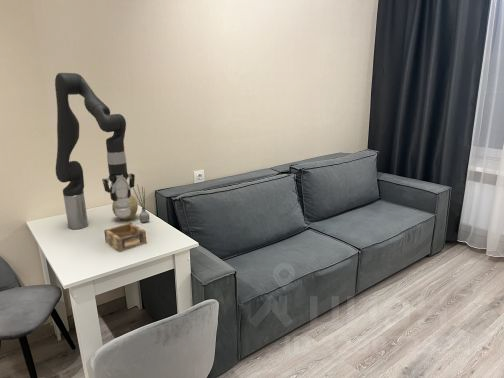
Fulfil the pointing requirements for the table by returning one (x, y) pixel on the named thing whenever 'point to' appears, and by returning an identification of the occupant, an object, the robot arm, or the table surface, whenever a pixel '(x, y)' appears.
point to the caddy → (125, 237)
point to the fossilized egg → (132, 205)
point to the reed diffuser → (143, 209)
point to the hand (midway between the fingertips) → (121, 198)
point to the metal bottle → (121, 198)
